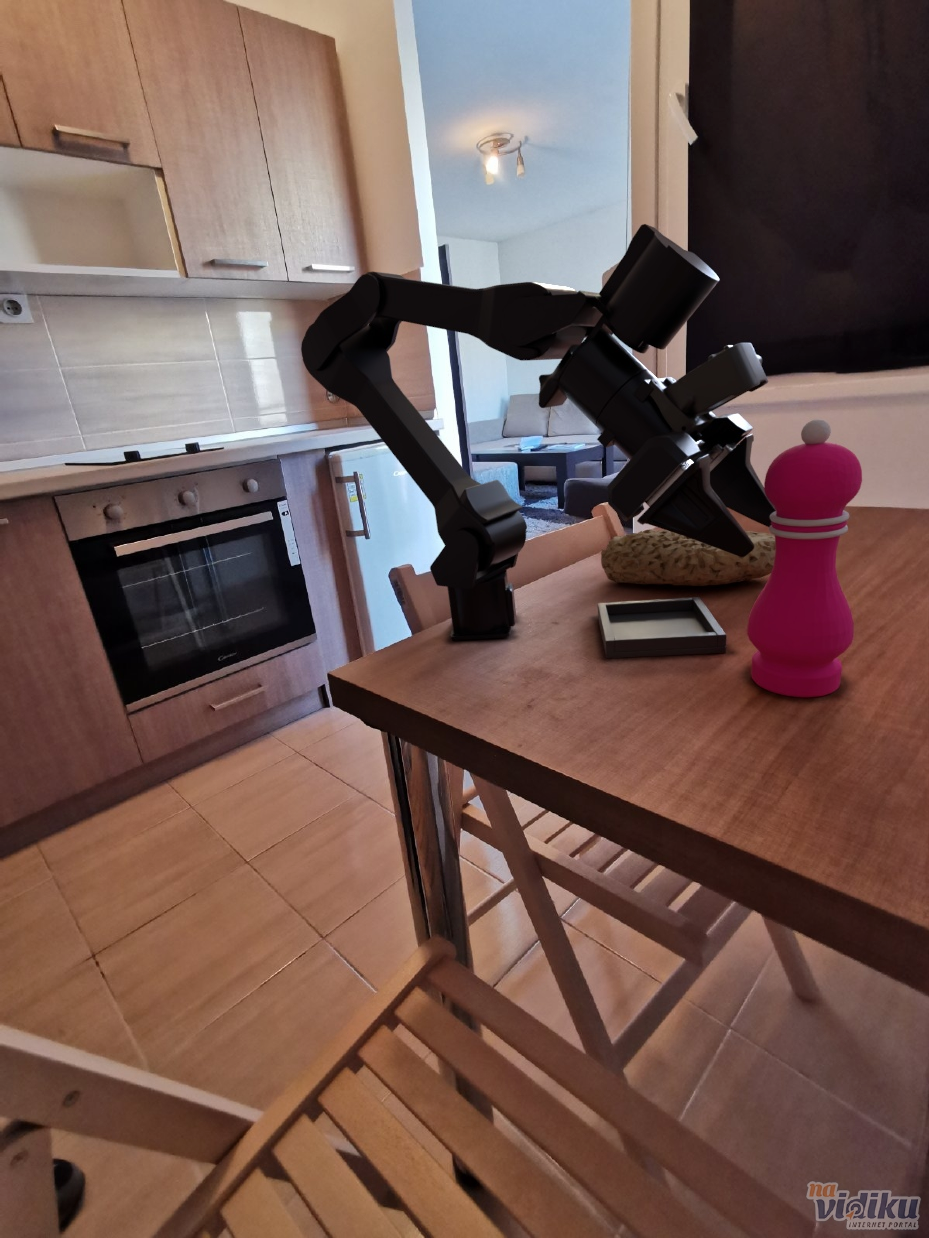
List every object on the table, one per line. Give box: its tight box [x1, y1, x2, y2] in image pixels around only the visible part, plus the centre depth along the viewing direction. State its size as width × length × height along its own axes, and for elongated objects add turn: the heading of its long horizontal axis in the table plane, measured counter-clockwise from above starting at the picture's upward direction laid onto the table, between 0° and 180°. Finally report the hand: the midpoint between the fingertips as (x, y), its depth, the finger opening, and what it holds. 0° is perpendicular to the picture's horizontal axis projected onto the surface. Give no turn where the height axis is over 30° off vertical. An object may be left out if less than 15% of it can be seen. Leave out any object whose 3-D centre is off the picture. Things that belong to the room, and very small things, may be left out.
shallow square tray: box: [597, 596, 728, 659], centre depth 59 cm, size 11×11×2 cm
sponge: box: [600, 529, 776, 587], centre depth 71 cm, size 13×8×20 cm
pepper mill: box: [746, 418, 863, 698], centre depth 44 cm, size 7×7×20 cm
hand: (764, 537), depth 45 cm, fingers open, 9 cm apart
